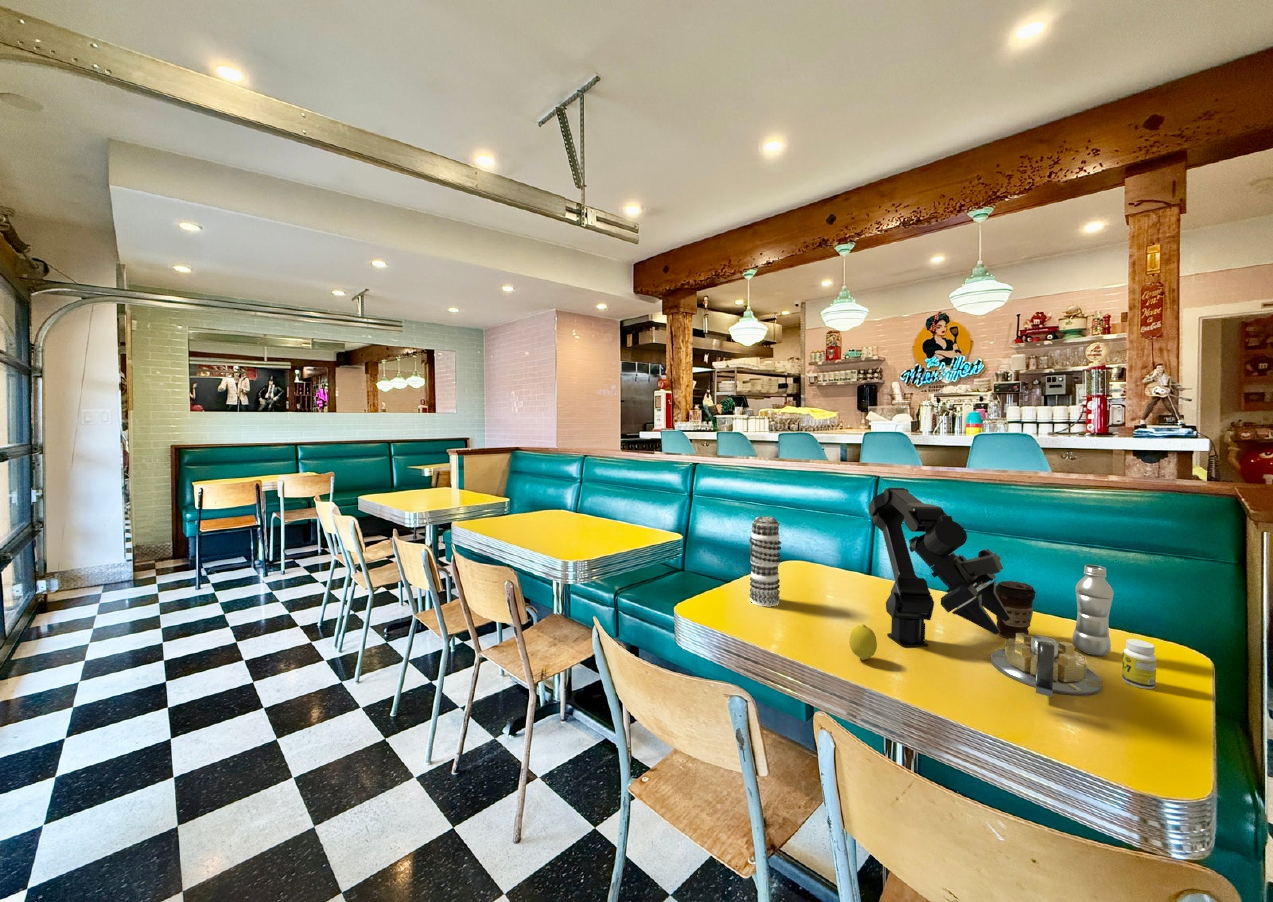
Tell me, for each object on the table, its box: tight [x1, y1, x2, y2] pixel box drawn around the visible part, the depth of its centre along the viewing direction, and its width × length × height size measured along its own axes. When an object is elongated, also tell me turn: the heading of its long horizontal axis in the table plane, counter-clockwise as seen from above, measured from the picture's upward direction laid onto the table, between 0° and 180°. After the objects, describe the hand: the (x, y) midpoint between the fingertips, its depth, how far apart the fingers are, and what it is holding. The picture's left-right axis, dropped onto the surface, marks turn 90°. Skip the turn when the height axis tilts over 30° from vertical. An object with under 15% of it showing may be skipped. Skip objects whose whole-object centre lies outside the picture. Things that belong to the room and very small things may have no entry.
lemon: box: [848, 623, 878, 661], centre depth 109 cm, size 6×6×8 cm
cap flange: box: [990, 634, 1103, 697], centre depth 104 cm, size 18×18×7 cm
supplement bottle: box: [1121, 638, 1158, 690], centre depth 99 cm, size 5×5×8 cm
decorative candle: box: [748, 516, 782, 608], centre depth 145 cm, size 9×9×25 cm
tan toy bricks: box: [1004, 633, 1087, 698], centre depth 100 cm, size 22×13×10 cm, turn 141°
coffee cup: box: [995, 580, 1037, 639], centre depth 122 cm, size 9×8×13 cm
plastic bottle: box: [1072, 564, 1115, 657], centre depth 112 cm, size 6×7×20 cm
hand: (1003, 626), depth 97 cm, fingers open, 9 cm apart
